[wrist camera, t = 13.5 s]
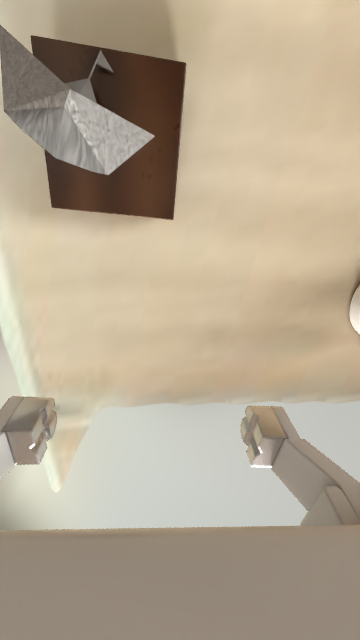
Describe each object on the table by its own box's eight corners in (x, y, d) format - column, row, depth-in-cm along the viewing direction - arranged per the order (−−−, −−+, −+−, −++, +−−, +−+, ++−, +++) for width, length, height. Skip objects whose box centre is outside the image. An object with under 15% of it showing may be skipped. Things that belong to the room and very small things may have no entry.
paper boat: (-66, 60, 13) (1, -87, 14) (-23, 130, 19) (23, 26, 19) (136, 187, 18) (182, 76, 18) (121, 211, 24) (156, 127, 24)
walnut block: (181, 86, 24) (186, 62, 20) (171, 216, 30) (173, 220, 25) (55, 65, 23) (30, 34, 18) (68, 205, 28) (51, 207, 24)
